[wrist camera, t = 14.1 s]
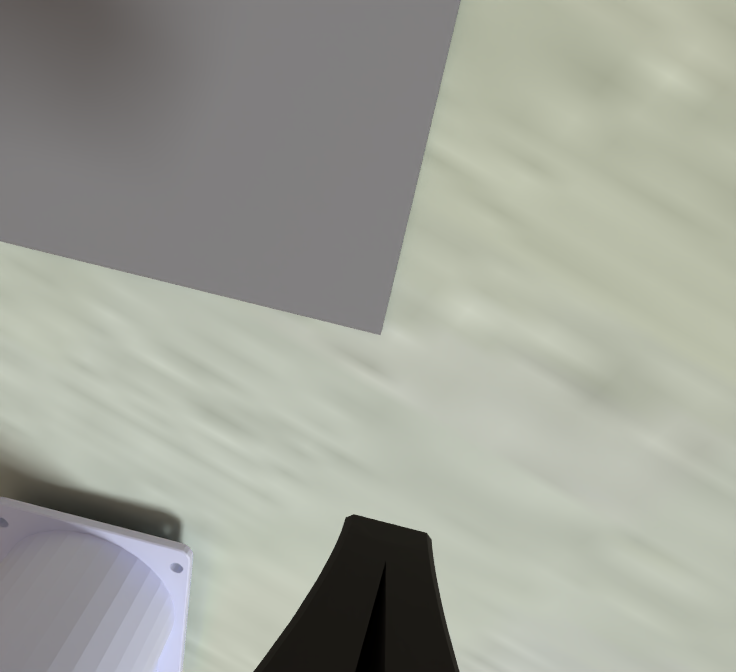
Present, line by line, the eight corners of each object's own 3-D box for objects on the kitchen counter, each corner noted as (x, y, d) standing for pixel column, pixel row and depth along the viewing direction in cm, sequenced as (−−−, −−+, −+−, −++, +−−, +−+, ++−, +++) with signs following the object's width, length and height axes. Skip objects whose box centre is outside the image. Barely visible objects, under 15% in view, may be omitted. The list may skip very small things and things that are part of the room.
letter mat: (381, 332, 21) (380, 335, 21) (-166, 196, 21) (-172, 198, 21) (478, -75, 15) (478, -76, 15) (-260, -242, 16) (-268, -244, 16)
